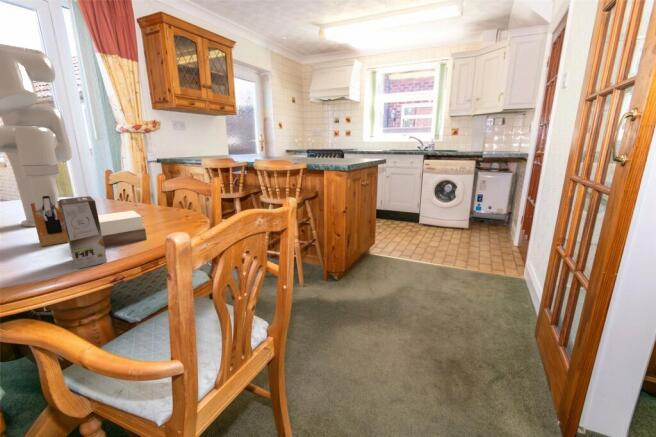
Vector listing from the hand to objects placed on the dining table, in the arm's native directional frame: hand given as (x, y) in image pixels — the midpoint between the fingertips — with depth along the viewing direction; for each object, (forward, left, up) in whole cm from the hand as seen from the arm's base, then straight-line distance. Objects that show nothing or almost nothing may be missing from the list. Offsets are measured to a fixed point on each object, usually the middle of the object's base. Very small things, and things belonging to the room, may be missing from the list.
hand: (55, 229), depth 89 cm
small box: (0, 0, -4) cm, 4 cm away
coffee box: (+25, +7, -4) cm, 26 cm away
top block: (+9, +15, 0) cm, 18 cm away
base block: (+9, +15, -4) cm, 18 cm away
